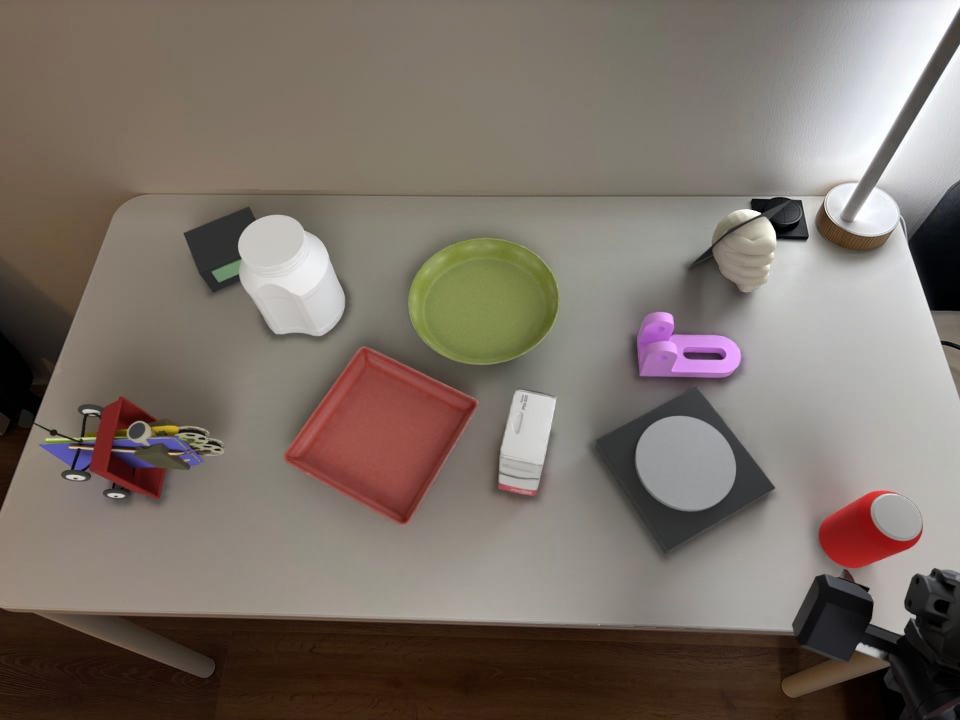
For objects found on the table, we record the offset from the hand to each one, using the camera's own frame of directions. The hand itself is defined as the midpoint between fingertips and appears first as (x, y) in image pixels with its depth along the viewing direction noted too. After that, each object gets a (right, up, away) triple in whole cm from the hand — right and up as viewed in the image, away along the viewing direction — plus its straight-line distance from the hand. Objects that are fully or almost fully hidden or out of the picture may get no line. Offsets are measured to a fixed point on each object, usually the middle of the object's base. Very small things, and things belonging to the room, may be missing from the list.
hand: (896, 592), depth 59 cm
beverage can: (+4, 0, +16) cm, 16 cm away
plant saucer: (-50, +11, +24) cm, 56 cm away
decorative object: (-2, +33, +33) cm, 47 cm away
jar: (-63, +29, +34) cm, 77 cm away
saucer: (-37, +28, +32) cm, 57 cm away
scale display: (-74, +36, +38) cm, 91 cm away
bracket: (-10, +21, +27) cm, 36 cm away
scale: (-13, +8, +20) cm, 26 cm away
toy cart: (-79, +8, +23) cm, 83 cm away
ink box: (-32, +9, +22) cm, 40 cm away
